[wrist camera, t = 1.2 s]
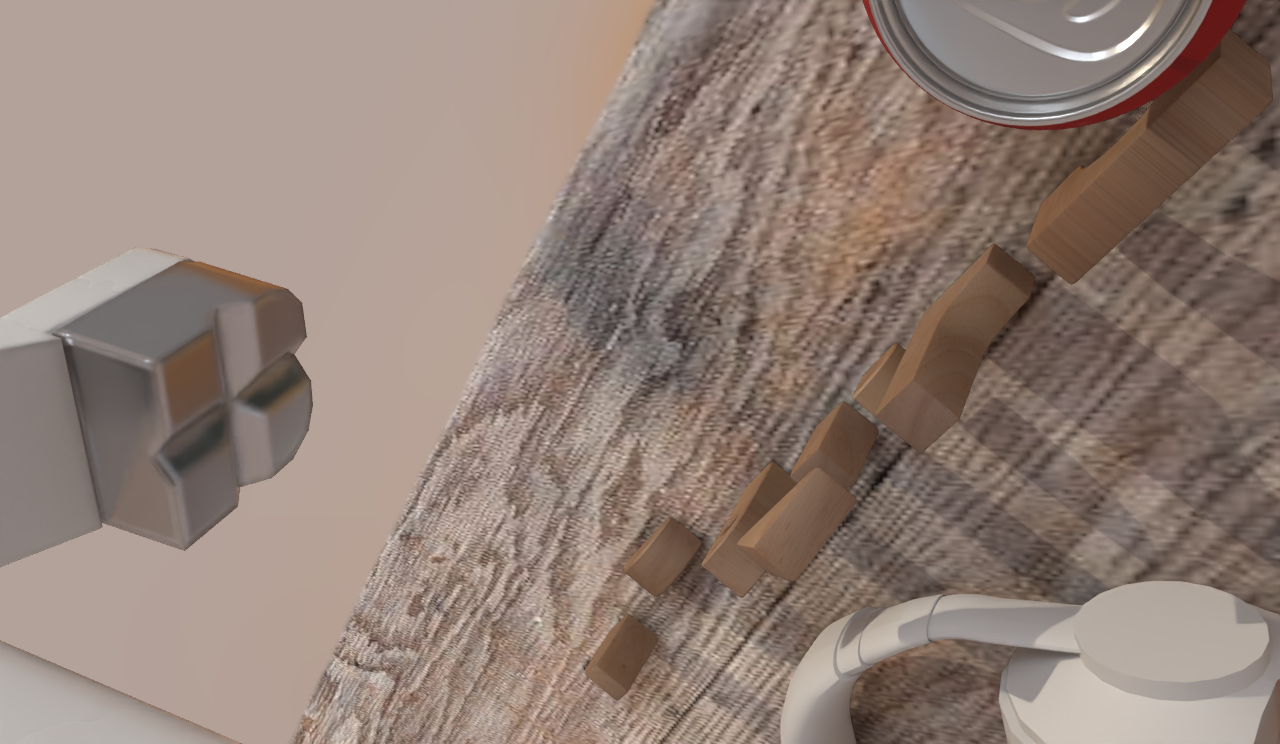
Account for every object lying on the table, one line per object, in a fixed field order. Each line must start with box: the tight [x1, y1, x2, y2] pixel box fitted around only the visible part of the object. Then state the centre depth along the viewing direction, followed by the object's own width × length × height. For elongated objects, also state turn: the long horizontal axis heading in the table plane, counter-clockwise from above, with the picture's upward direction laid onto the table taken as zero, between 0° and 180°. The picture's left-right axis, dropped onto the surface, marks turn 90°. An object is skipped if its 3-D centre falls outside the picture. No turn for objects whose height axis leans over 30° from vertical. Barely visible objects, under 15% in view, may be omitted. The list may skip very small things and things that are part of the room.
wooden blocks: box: [585, 29, 1273, 701], centre depth 35 cm, size 30×3×7 cm, turn 147°
